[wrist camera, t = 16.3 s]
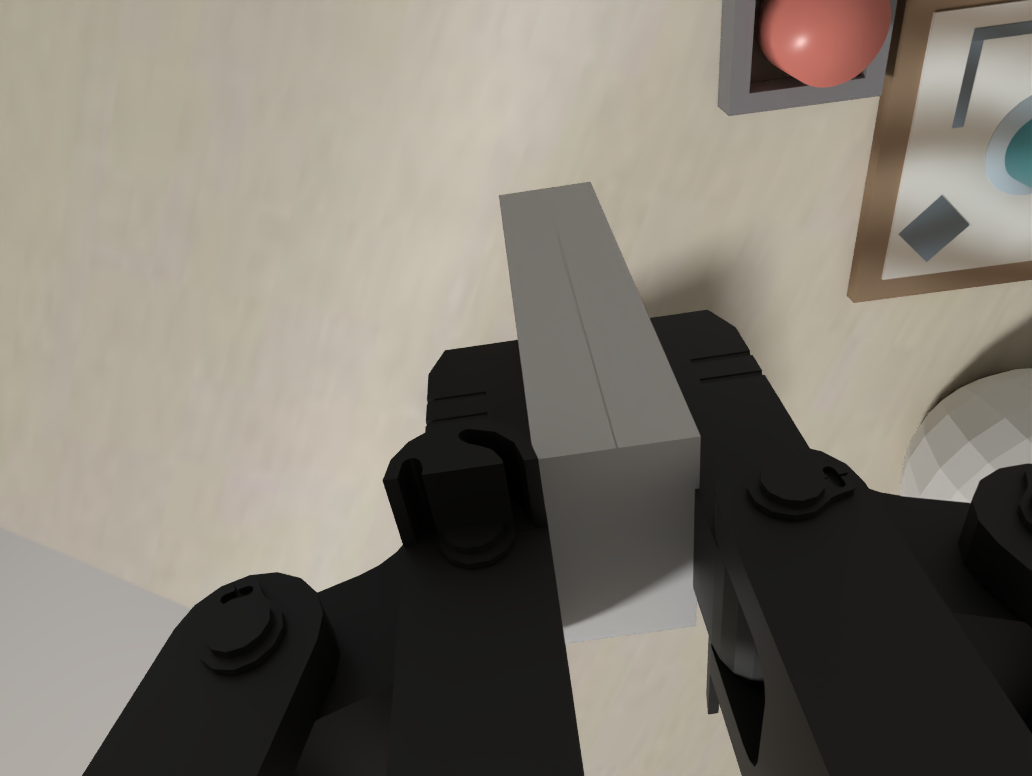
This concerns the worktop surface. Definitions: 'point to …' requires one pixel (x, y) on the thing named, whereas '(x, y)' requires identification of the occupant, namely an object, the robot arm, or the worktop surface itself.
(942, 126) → the board
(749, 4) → the button housing
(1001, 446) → the vase
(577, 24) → the worktop surface
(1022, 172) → the marker
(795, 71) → the button
